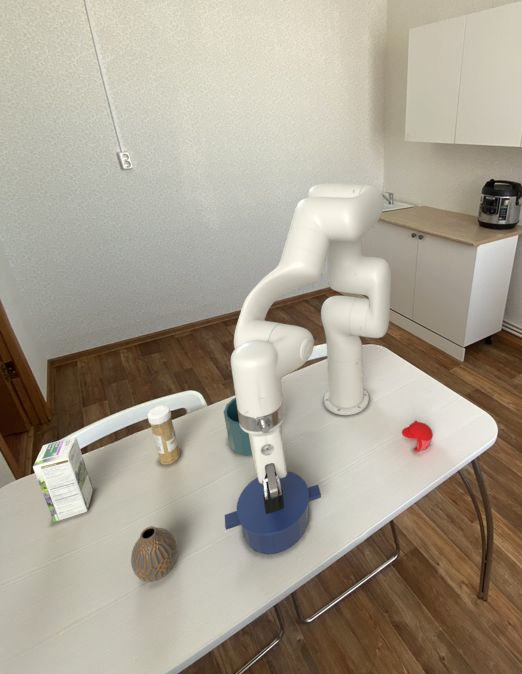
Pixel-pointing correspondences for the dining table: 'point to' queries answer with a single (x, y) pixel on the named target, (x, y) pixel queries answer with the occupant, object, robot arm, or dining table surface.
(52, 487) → the syrup box
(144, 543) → the vase
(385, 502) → the dining table surface
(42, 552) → the dining table surface
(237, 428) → the pot
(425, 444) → the red rounded piece
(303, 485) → the lid
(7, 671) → the dining table surface
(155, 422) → the spice jar
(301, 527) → the pan
